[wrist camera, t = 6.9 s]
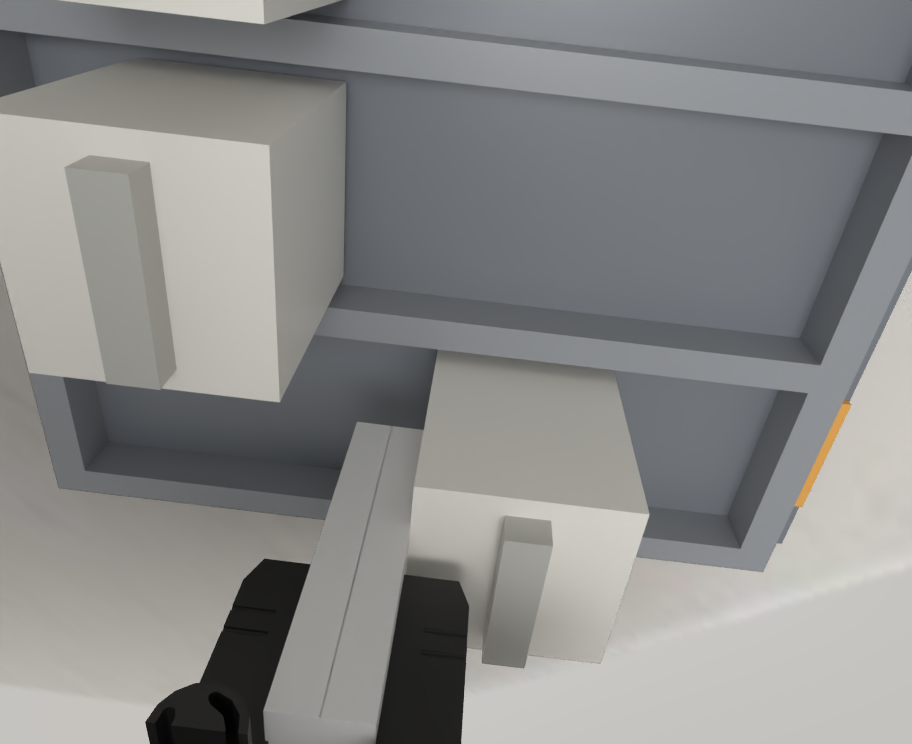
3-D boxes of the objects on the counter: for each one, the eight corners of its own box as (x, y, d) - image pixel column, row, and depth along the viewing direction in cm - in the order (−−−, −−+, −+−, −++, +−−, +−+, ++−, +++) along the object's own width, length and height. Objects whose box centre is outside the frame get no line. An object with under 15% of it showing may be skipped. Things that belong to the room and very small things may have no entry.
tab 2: (425, 476, 18) (395, 666, 13) (439, 343, 16) (409, 510, 11) (578, 495, 18) (604, 691, 13) (611, 363, 16) (655, 540, 11)
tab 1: (162, 254, 15) (5, 393, 11) (137, 57, 13) (-74, 119, 8) (343, 276, 15) (269, 424, 11) (346, 81, 13) (254, 156, 8)
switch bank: (79, 424, 20) (24, 485, 18) (-112, -418, 11) (-270, -510, 9) (764, 505, 20) (797, 577, 18) (1109, -277, 11) (1263, -336, 9)
